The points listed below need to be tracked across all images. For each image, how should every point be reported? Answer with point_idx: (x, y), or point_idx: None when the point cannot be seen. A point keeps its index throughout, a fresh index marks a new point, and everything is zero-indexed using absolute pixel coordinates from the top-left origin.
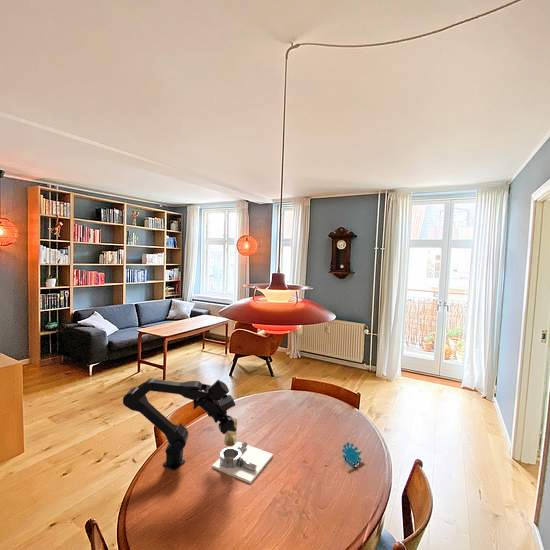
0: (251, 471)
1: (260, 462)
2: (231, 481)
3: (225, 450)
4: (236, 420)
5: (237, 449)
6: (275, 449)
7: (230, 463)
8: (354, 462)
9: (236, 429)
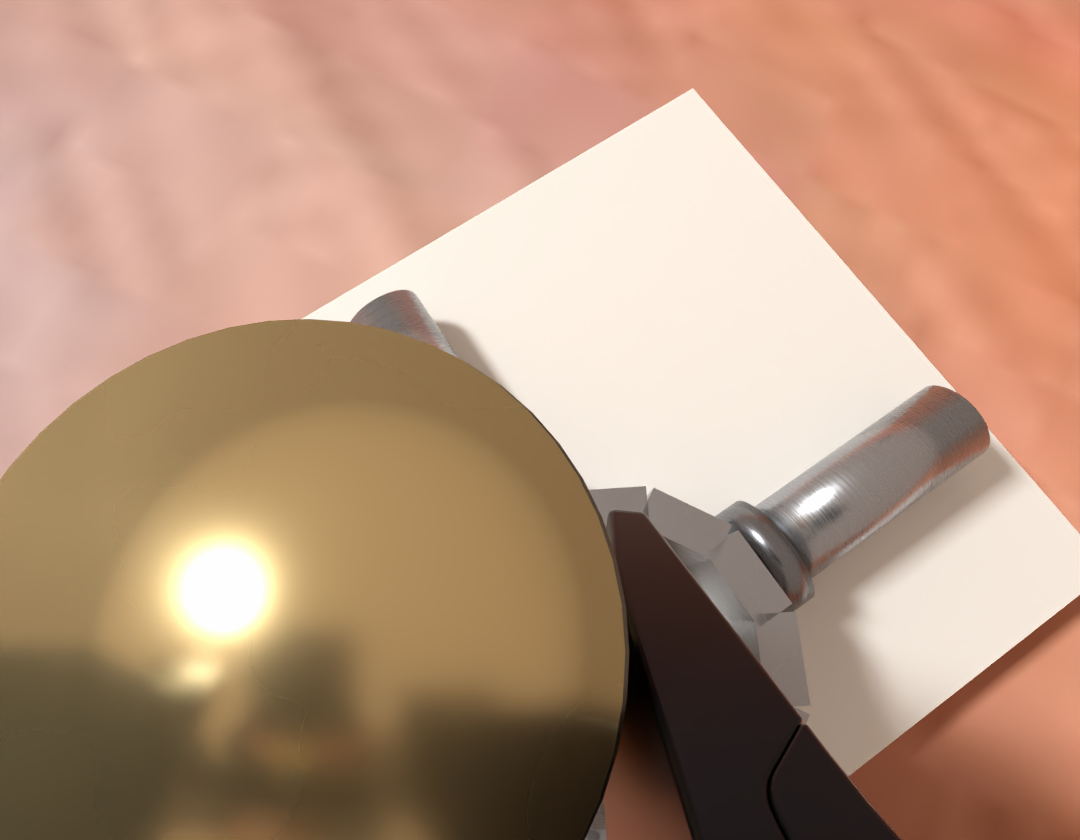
0: None
1: (789, 292)
2: (968, 797)
3: None
4: (416, 379)
5: None
6: (576, 27)
7: None
8: None
9: (648, 522)
